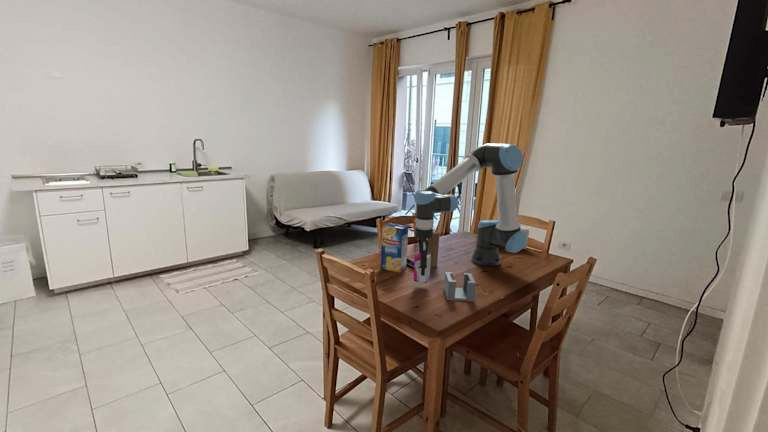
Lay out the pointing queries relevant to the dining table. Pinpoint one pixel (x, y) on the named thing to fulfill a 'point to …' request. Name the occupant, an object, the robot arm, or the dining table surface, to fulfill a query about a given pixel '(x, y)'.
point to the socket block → (460, 293)
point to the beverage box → (394, 247)
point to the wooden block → (433, 248)
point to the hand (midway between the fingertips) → (421, 278)
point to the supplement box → (416, 269)
